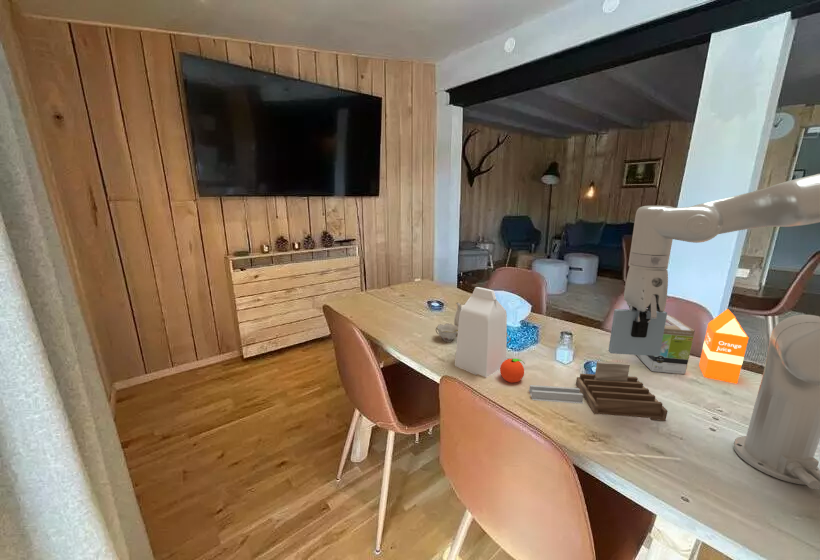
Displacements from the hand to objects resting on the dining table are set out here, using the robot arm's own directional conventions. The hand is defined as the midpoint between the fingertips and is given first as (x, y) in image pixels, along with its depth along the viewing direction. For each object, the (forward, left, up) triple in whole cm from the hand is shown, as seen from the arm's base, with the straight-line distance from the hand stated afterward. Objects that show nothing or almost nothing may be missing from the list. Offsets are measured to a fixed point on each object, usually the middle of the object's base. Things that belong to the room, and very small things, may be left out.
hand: (636, 335), depth 84 cm
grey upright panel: (0, 0, -5) cm, 5 cm away
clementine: (+12, +26, -21) cm, 36 cm away
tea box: (+30, -23, -21) cm, 43 cm away
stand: (+4, +16, -21) cm, 27 cm away
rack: (+4, 0, -21) cm, 21 cm away
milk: (+20, +35, -21) cm, 45 cm away
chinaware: (+41, +37, -21) cm, 59 cm away
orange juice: (+24, -37, -21) cm, 49 cm away
